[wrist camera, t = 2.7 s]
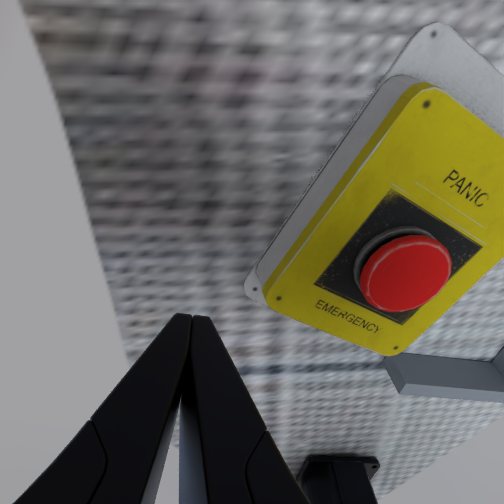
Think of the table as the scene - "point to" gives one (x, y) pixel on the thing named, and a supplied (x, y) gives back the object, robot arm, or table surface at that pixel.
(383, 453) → the table surface
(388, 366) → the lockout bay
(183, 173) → the table surface
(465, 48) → the emergency button
